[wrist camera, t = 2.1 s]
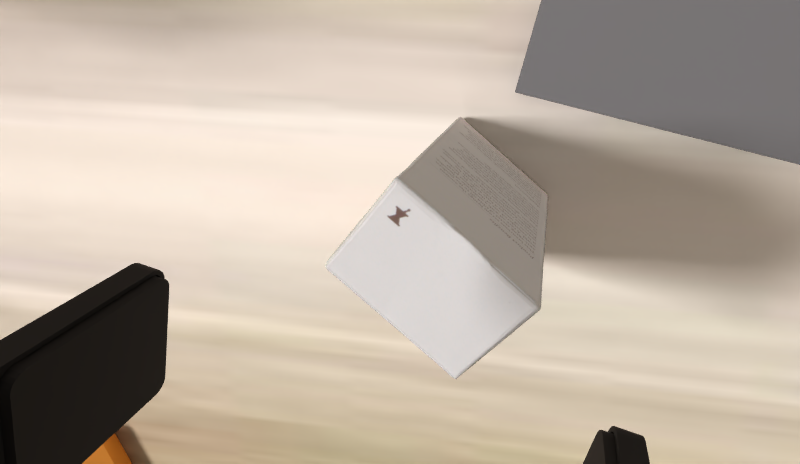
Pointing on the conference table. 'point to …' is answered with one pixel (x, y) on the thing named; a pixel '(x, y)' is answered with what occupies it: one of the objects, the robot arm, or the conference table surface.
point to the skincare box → (451, 250)
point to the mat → (675, 67)
